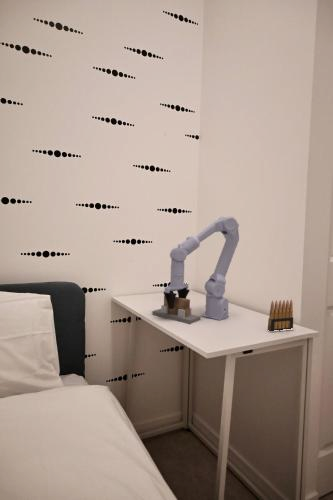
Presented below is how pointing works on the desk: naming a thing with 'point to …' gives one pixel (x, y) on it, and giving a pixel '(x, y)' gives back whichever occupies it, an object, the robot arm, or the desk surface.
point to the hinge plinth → (180, 317)
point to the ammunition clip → (280, 316)
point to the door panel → (179, 305)
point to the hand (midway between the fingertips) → (176, 307)
